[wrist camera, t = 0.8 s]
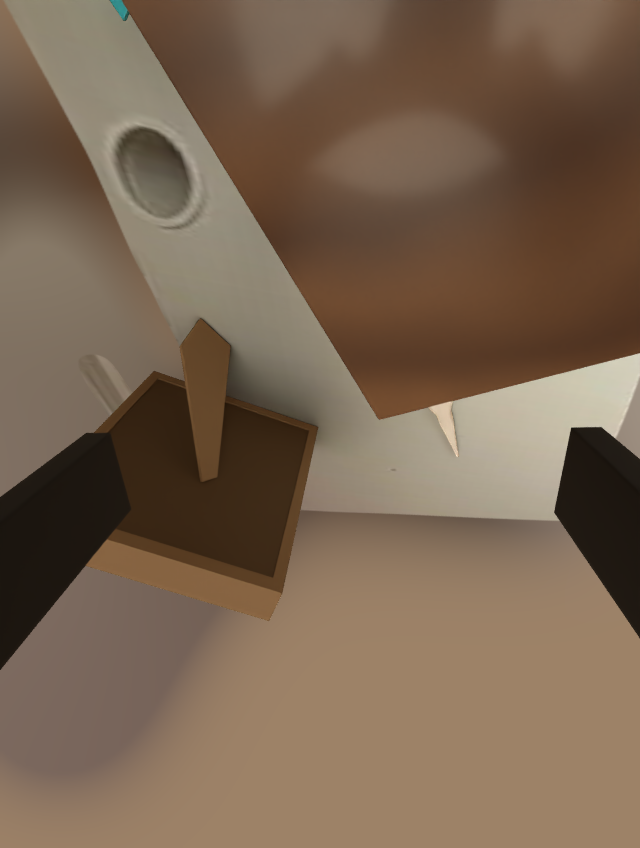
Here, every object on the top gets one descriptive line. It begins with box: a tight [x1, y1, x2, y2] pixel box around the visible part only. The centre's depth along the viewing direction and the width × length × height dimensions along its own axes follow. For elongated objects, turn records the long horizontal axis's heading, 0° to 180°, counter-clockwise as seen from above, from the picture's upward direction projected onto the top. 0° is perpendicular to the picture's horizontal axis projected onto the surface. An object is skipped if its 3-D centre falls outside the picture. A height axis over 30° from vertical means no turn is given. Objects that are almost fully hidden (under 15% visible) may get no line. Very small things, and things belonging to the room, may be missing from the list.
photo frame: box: [86, 319, 318, 621], centre depth 44 cm, size 15×22×25 cm
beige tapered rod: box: [429, 401, 459, 456], centre depth 49 cm, size 15×3×2 cm, turn 24°
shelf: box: [122, 0, 640, 420], centre depth 22 cm, size 19×12×22 cm
